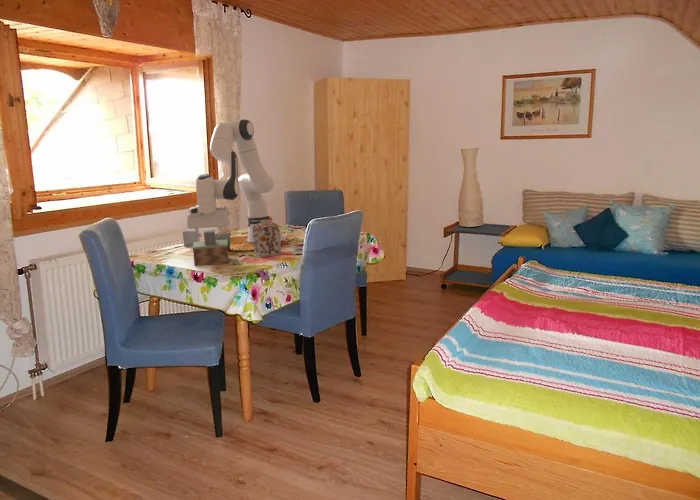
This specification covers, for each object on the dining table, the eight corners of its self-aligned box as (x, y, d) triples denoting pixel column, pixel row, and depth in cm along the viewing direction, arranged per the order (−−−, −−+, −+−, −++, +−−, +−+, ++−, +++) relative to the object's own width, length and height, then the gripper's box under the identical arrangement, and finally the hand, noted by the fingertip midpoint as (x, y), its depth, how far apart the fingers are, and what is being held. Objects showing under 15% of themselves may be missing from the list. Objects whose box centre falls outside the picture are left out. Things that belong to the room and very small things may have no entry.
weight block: (215, 241, 271) (214, 230, 269) (215, 244, 266) (214, 232, 264) (205, 242, 270) (204, 230, 268) (205, 244, 265) (203, 232, 263)
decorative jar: (253, 253, 286) (251, 219, 281) (275, 250, 290) (273, 217, 286) (259, 257, 275) (257, 222, 271) (281, 255, 279) (279, 220, 275)
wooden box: (228, 257, 277) (227, 242, 275) (228, 263, 266) (227, 247, 264) (195, 260, 274) (194, 244, 272) (194, 265, 263) (193, 249, 261)
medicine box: (200, 244, 311) (198, 229, 309) (197, 246, 307) (195, 231, 305) (186, 244, 312) (185, 229, 310) (183, 246, 308) (182, 231, 306)
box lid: (227, 241, 275) (227, 239, 275) (227, 246, 264) (227, 244, 264) (193, 243, 272) (193, 241, 272) (192, 249, 261) (192, 247, 260)
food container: (212, 254, 286) (210, 235, 284) (209, 251, 292) (208, 233, 290) (235, 250, 292) (233, 232, 290) (232, 248, 297) (230, 230, 295)
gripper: (229, 206, 269) (231, 233, 272) (186, 208, 265) (188, 236, 268) (229, 207, 263) (231, 235, 266) (185, 210, 259) (188, 238, 262)
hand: (209, 236), depth 267 cm, fingers open, 8 cm apart
